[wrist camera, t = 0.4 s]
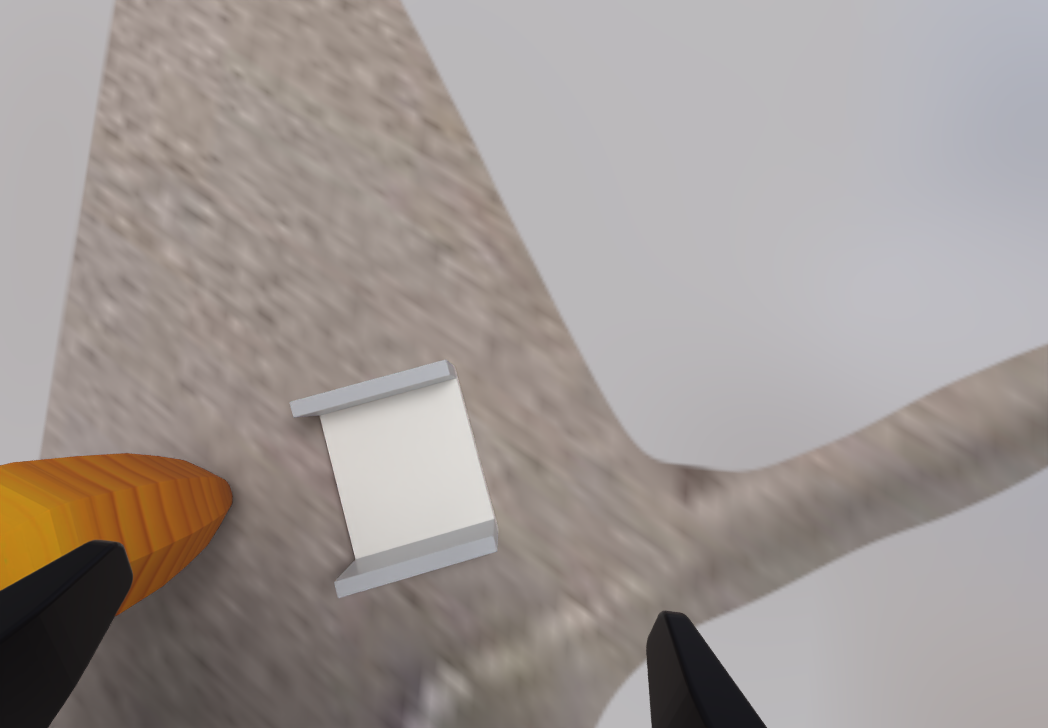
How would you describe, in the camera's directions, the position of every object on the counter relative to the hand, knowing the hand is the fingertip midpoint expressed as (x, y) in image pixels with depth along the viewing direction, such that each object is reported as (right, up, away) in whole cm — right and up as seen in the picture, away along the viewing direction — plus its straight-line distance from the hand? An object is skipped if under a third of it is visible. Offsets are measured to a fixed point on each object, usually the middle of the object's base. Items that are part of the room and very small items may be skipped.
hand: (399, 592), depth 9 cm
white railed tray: (-3, -1, +14) cm, 14 cm away
